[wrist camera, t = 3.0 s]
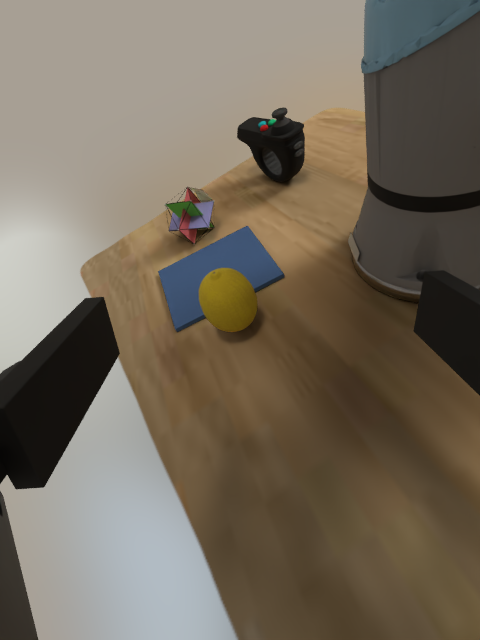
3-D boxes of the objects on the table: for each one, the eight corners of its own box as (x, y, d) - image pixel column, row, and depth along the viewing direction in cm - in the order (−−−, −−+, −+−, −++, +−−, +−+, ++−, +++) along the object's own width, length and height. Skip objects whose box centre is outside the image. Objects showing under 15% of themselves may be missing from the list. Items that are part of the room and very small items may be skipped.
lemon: (275, 324, 34) (254, 270, 28) (232, 355, 34) (201, 306, 28) (248, 297, 38) (224, 244, 32) (209, 324, 37) (177, 275, 31)
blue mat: (248, 228, 46) (247, 225, 46) (284, 277, 38) (283, 273, 38) (160, 274, 46) (158, 271, 46) (177, 332, 38) (175, 329, 38)
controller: (296, 193, 48) (280, 121, 40) (246, 175, 56) (226, 113, 48) (317, 177, 49) (306, 104, 41) (265, 162, 57) (247, 98, 49)
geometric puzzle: (202, 245, 43) (194, 180, 41) (160, 248, 46) (151, 187, 44) (226, 241, 50) (220, 185, 48) (187, 244, 53) (181, 191, 50)
